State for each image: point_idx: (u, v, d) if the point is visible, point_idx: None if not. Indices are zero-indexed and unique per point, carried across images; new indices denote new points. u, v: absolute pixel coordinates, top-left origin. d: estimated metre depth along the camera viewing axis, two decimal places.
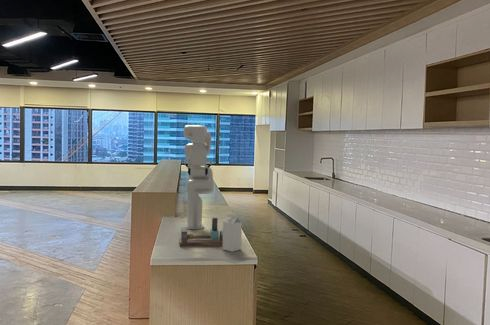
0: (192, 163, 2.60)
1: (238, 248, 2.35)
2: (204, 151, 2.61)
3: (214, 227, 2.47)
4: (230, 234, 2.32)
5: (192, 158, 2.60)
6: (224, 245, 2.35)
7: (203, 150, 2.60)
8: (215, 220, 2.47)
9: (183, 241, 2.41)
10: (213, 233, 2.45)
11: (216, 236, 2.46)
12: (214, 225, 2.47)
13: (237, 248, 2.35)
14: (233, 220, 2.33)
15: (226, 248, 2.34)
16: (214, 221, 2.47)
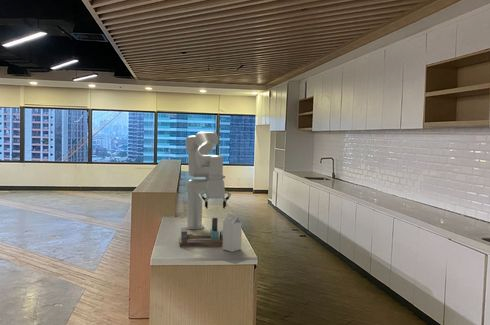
0: (209, 196, 2.45)
1: (238, 248, 2.35)
2: (222, 183, 2.46)
3: (214, 227, 2.47)
4: (230, 234, 2.32)
5: (209, 190, 2.44)
6: (224, 245, 2.35)
7: (221, 182, 2.45)
8: (215, 220, 2.47)
9: (183, 241, 2.41)
10: (213, 233, 2.45)
11: (216, 236, 2.46)
12: (214, 225, 2.47)
13: (237, 248, 2.35)
14: (233, 220, 2.33)
15: (226, 248, 2.34)
16: (214, 221, 2.47)
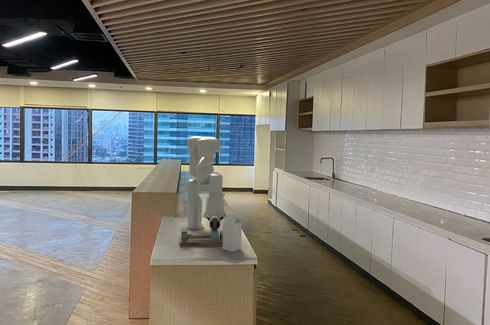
0: (209, 214, 2.45)
1: (238, 248, 2.35)
2: (222, 201, 2.46)
3: (214, 227, 2.47)
4: (230, 234, 2.32)
5: (208, 209, 2.45)
6: (224, 245, 2.35)
7: (220, 200, 2.46)
8: (215, 220, 2.47)
9: (183, 241, 2.41)
10: (213, 233, 2.45)
11: (216, 236, 2.46)
12: (214, 225, 2.47)
13: (237, 248, 2.35)
14: (233, 220, 2.33)
15: (226, 248, 2.34)
16: (214, 221, 2.47)
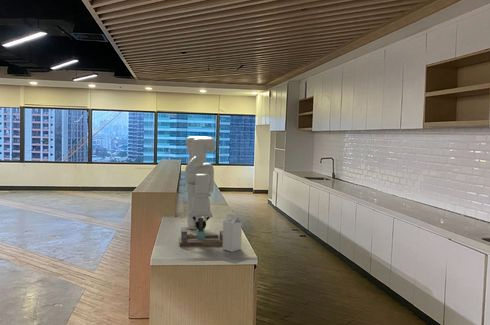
0: (195, 214, 2.44)
1: (238, 248, 2.35)
2: (208, 201, 2.45)
3: (200, 227, 2.46)
4: (230, 234, 2.32)
5: (194, 209, 2.44)
6: (224, 245, 2.35)
7: (206, 200, 2.45)
8: (201, 220, 2.46)
9: (183, 241, 2.41)
10: (199, 233, 2.44)
11: (202, 236, 2.44)
12: (200, 225, 2.46)
13: (237, 248, 2.35)
14: (233, 220, 2.33)
15: (226, 248, 2.34)
16: (200, 221, 2.46)
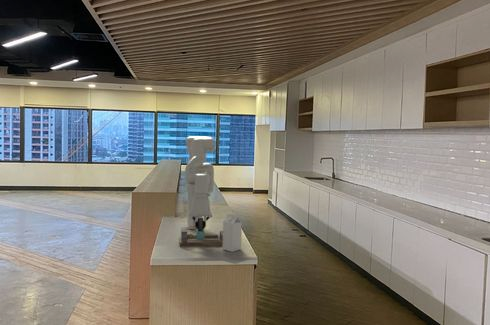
0: (194, 214, 2.44)
1: (238, 248, 2.35)
2: (207, 201, 2.45)
3: (200, 227, 2.46)
4: (230, 234, 2.32)
5: (194, 209, 2.44)
6: (224, 245, 2.35)
7: (206, 200, 2.45)
8: (201, 220, 2.46)
9: (183, 241, 2.41)
10: (199, 233, 2.44)
11: (201, 236, 2.44)
12: (200, 225, 2.46)
13: (237, 248, 2.35)
14: (233, 220, 2.33)
15: (226, 248, 2.34)
16: (200, 221, 2.46)
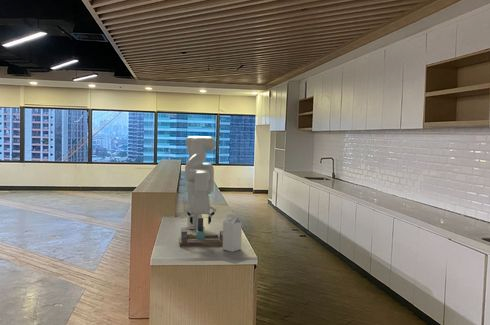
0: (194, 212, 2.44)
1: (238, 248, 2.35)
2: (207, 199, 2.45)
3: (200, 227, 2.46)
4: (230, 234, 2.32)
5: (194, 206, 2.44)
6: (224, 245, 2.35)
7: (206, 198, 2.45)
8: (201, 220, 2.46)
9: (183, 241, 2.41)
10: (199, 233, 2.44)
11: (201, 236, 2.44)
12: (200, 225, 2.46)
13: (237, 248, 2.35)
14: (233, 220, 2.33)
15: (226, 248, 2.34)
16: (200, 221, 2.46)
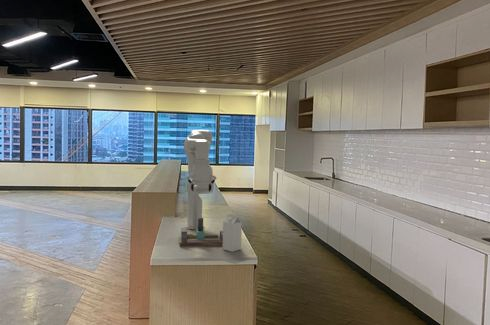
0: (195, 179, 2.54)
1: (238, 248, 2.35)
2: (208, 167, 2.54)
3: (200, 227, 2.46)
4: (230, 234, 2.32)
5: (195, 174, 2.53)
6: (224, 245, 2.35)
7: (207, 166, 2.54)
8: (201, 220, 2.46)
9: (183, 241, 2.41)
10: (199, 233, 2.44)
11: (201, 236, 2.44)
12: (200, 225, 2.46)
13: (237, 248, 2.35)
14: (233, 220, 2.33)
15: (226, 248, 2.34)
16: (200, 221, 2.46)
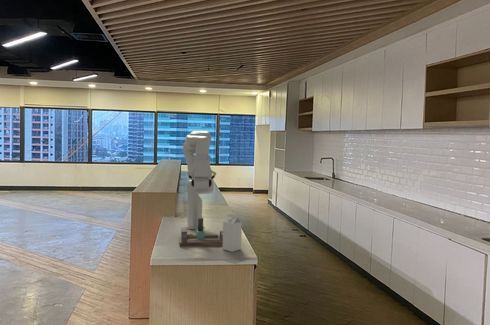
0: (196, 175, 2.57)
1: (238, 248, 2.35)
2: (208, 163, 2.58)
3: (200, 227, 2.46)
4: (230, 234, 2.32)
5: (195, 170, 2.56)
6: (224, 245, 2.35)
7: (207, 161, 2.57)
8: (201, 220, 2.46)
9: (183, 241, 2.41)
10: (199, 233, 2.44)
11: (201, 236, 2.44)
12: (200, 225, 2.46)
13: (237, 248, 2.35)
14: (233, 220, 2.33)
15: (226, 248, 2.34)
16: (200, 221, 2.46)
